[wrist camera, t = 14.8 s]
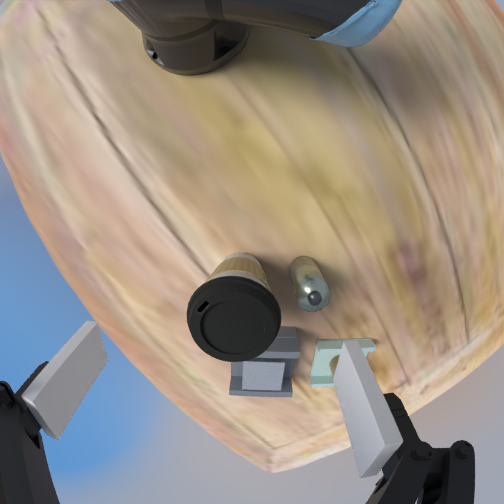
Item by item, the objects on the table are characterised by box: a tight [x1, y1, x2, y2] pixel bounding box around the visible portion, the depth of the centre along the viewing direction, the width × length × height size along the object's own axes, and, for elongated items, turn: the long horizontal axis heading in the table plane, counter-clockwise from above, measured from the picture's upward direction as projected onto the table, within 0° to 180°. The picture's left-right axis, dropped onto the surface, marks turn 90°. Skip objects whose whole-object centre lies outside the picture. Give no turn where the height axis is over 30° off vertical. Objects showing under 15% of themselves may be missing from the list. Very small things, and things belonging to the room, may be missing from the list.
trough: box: [309, 338, 376, 388], centre depth 44 cm, size 9×10×3 cm
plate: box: [242, 358, 285, 390], centre depth 39 cm, size 6×6×2 cm
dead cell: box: [290, 256, 331, 312], centre depth 36 cm, size 4×4×10 cm
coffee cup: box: [187, 252, 281, 362], centre depth 33 cm, size 10×10×15 cm
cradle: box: [229, 326, 300, 397], centre depth 42 cm, size 10×10×6 cm
